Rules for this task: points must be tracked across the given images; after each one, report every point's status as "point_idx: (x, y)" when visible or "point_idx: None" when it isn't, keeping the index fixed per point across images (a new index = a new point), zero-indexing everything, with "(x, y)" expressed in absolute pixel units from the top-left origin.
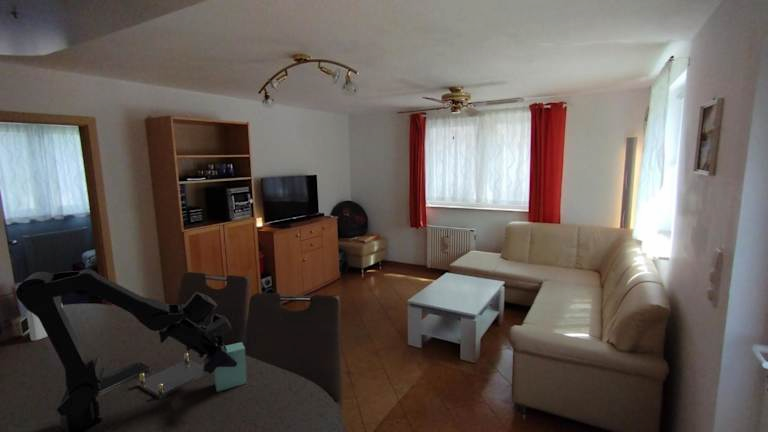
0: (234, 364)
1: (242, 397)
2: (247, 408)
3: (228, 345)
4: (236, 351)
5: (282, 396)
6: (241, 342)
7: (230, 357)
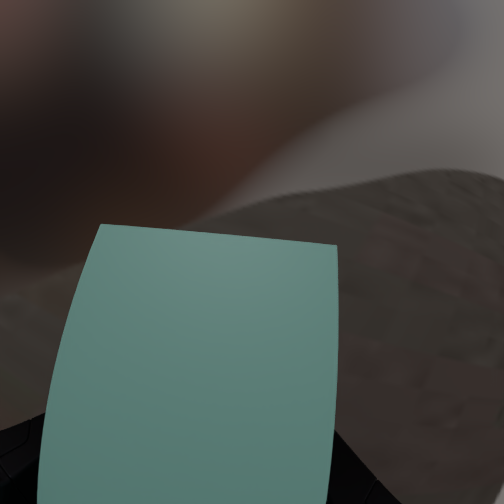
0: None
1: (394, 411)
2: (472, 399)
3: (55, 428)
4: (328, 384)
5: (452, 259)
6: (109, 232)
7: (358, 482)
